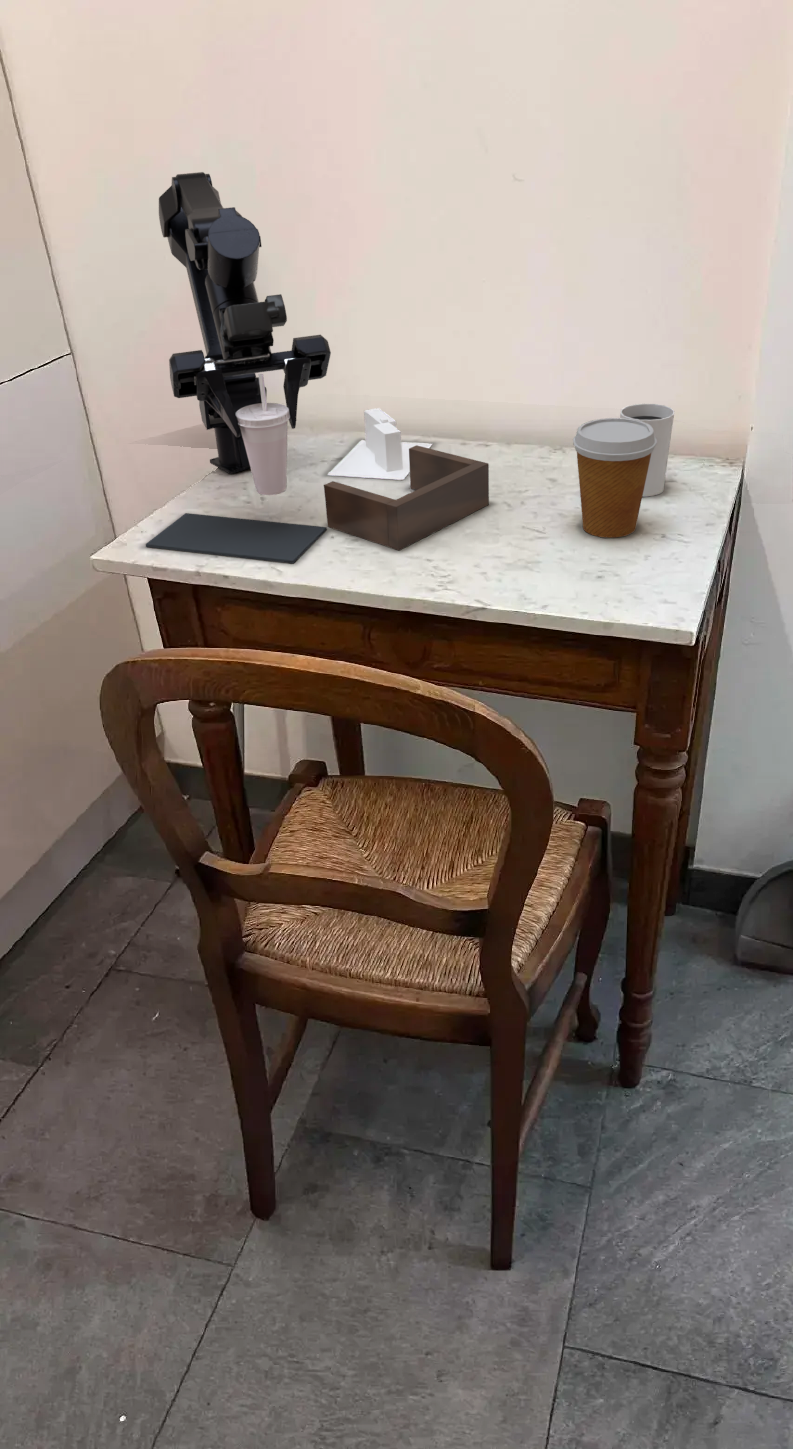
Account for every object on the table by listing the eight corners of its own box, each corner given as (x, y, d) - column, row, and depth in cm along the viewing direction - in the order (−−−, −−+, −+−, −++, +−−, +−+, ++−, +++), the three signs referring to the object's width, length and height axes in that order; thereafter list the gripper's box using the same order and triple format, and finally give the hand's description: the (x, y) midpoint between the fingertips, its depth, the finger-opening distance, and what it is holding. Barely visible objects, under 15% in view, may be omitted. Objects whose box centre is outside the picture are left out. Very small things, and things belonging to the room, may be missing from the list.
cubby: (327, 526, 133) (323, 484, 130) (418, 484, 143) (416, 445, 140) (399, 550, 126) (396, 507, 123) (489, 504, 136) (488, 463, 133)
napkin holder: (360, 439, 160) (357, 401, 157) (433, 443, 157) (431, 404, 154) (326, 475, 148) (322, 435, 145) (404, 480, 145) (402, 439, 142)
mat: (145, 547, 131) (145, 544, 131) (186, 515, 138) (185, 513, 138) (293, 563, 124) (293, 560, 124) (326, 530, 132) (326, 527, 132)
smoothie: (269, 503, 126) (255, 385, 119) (234, 491, 130) (218, 376, 122) (308, 486, 130) (296, 371, 122) (273, 475, 134) (259, 362, 126)
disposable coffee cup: (631, 549, 123) (639, 448, 116) (556, 535, 127) (559, 437, 121) (661, 519, 129) (670, 422, 123) (588, 507, 134) (593, 412, 127)
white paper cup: (646, 502, 134) (652, 424, 129) (604, 489, 138) (609, 413, 133) (678, 487, 138) (685, 410, 132) (636, 475, 142) (642, 400, 136)
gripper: (155, 280, 118) (185, 408, 115) (319, 261, 122) (352, 384, 119) (159, 337, 128) (187, 455, 126) (310, 318, 132) (339, 432, 130)
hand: (266, 431), depth 125 cm, fingers closed on smoothie, 6 cm apart
